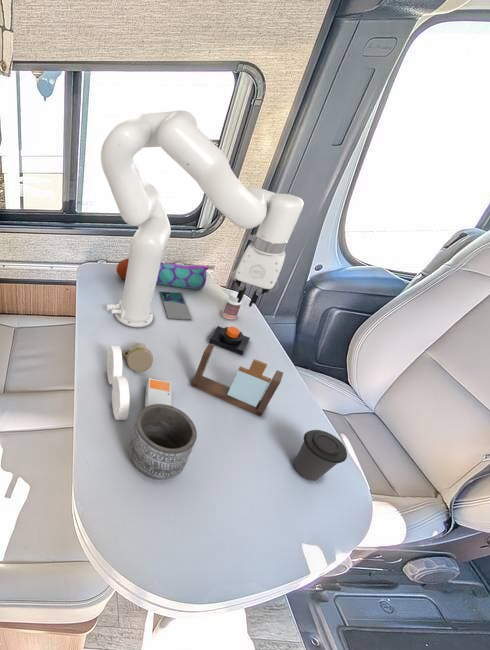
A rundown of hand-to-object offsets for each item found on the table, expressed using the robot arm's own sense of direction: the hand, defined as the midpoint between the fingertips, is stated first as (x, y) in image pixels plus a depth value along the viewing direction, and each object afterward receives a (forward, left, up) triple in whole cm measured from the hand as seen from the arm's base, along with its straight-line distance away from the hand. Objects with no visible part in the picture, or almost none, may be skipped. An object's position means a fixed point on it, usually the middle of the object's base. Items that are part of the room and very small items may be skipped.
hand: (245, 302), depth 112 cm
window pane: (-8, -25, -14) cm, 29 cm away
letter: (-40, -21, -15) cm, 48 cm away
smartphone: (-11, +20, -15) cm, 27 cm away
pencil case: (-7, +34, -15) cm, 38 cm away
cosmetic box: (-28, -19, -13) cm, 37 cm away
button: (0, 0, -12) cm, 12 cm away
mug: (-31, -8, -15) cm, 36 cm away
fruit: (-24, +39, -15) cm, 48 cm away
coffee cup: (-1, -44, -15) cm, 47 cm away
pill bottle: (+6, +14, -15) cm, 22 cm away
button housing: (0, 0, -15) cm, 15 cm away
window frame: (-10, -22, -15) cm, 29 cm away
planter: (-35, -41, -15) cm, 56 cm away
